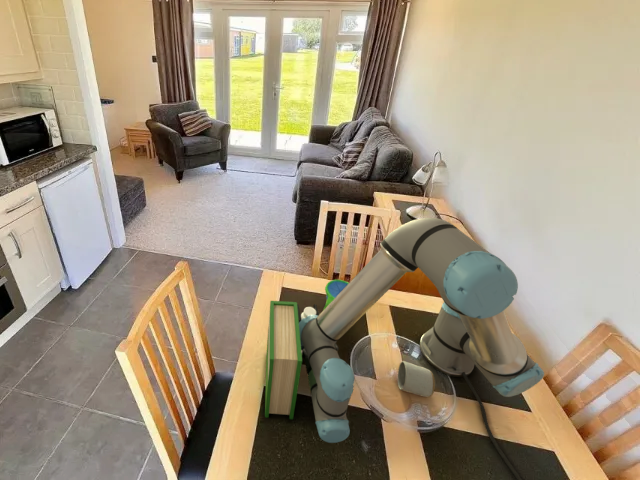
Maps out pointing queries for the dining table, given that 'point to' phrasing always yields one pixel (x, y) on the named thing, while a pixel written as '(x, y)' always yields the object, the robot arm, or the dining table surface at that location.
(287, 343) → the hardback book
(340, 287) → the snack cup
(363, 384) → the dining table surface
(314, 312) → the supplement bottle
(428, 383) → the ceramic mug
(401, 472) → the dining table surface
